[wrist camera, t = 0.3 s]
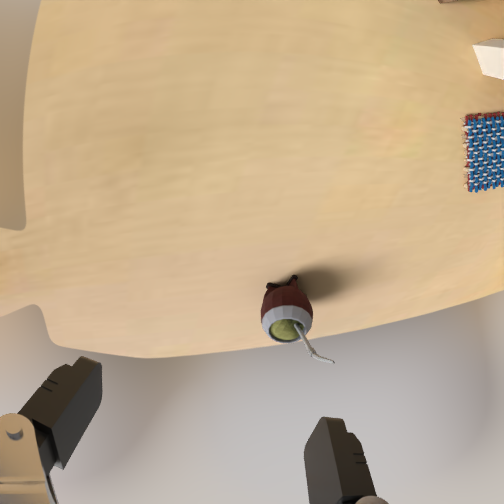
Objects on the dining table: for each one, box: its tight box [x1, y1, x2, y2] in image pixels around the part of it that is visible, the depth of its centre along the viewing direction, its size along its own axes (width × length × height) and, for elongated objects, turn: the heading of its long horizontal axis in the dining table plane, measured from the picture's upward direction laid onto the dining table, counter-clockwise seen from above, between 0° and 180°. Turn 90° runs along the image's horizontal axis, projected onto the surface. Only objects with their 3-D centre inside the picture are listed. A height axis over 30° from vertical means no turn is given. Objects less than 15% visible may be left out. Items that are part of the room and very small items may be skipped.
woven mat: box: [460, 112, 504, 193], centre depth 31 cm, size 10×11×2 cm
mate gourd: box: [261, 275, 334, 363], centre depth 41 cm, size 8×8×15 cm
